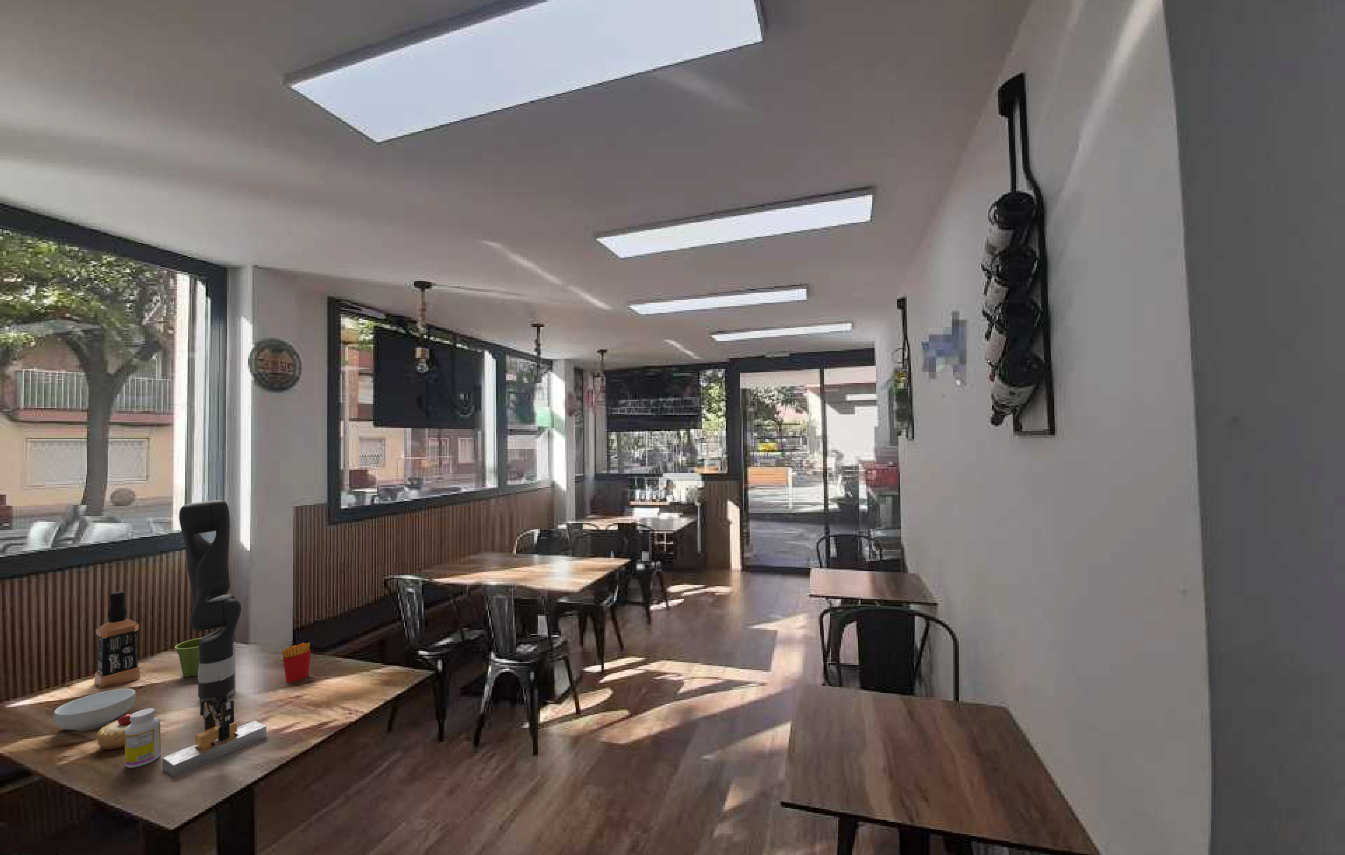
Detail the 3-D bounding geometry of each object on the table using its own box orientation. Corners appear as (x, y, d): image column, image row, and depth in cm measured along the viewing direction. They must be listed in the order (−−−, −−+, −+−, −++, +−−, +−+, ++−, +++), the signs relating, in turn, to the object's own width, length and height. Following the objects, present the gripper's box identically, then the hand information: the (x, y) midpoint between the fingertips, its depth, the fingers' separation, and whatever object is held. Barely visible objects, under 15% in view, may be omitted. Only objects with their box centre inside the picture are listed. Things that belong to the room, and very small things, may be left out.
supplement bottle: (141, 755, 142) (141, 707, 142) (167, 753, 142) (167, 705, 143) (117, 770, 135) (117, 720, 135) (144, 768, 136) (144, 718, 136)
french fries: (307, 673, 191) (307, 639, 191) (312, 675, 189) (312, 641, 189) (280, 682, 184) (279, 648, 184) (285, 684, 182) (284, 650, 182)
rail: (162, 769, 135) (162, 757, 135) (254, 730, 152) (254, 720, 152) (173, 777, 131) (173, 765, 131) (266, 736, 149) (266, 726, 149)
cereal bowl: (148, 714, 164) (148, 691, 164) (73, 743, 148) (73, 718, 149) (115, 706, 170) (115, 684, 170) (40, 734, 154) (40, 710, 154)
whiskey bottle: (140, 678, 191) (140, 590, 191) (101, 690, 182) (101, 597, 183) (132, 672, 196) (132, 587, 197) (93, 683, 188) (93, 593, 189)
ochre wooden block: (195, 758, 139) (195, 734, 139) (232, 743, 146) (232, 720, 146) (200, 762, 138) (200, 737, 138) (237, 746, 145) (237, 722, 145)
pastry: (103, 759, 141) (102, 726, 141) (92, 745, 147) (90, 714, 147) (163, 735, 151) (162, 705, 151) (150, 724, 158) (149, 695, 158)
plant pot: (197, 680, 188) (197, 648, 188) (165, 680, 188) (165, 649, 188) (226, 665, 200) (226, 636, 200) (195, 666, 200) (195, 637, 200)
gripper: (187, 676, 142) (188, 736, 142) (211, 686, 136) (211, 750, 135) (221, 665, 149) (222, 723, 149) (245, 674, 142) (246, 735, 142)
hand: (217, 735), depth 142 cm, fingers open, 8 cm apart
